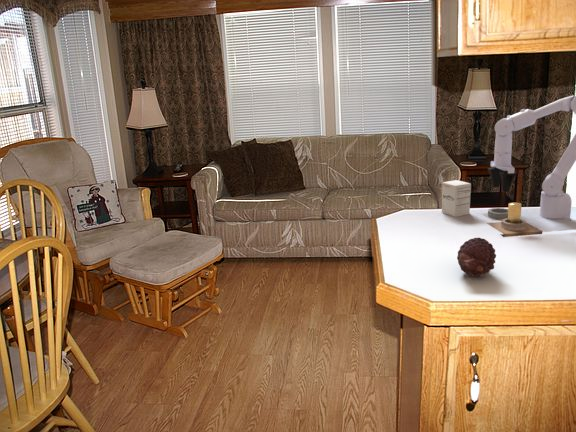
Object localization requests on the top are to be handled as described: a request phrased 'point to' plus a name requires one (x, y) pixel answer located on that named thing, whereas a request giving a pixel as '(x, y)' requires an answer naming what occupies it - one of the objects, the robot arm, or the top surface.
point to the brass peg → (514, 213)
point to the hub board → (516, 233)
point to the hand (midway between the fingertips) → (500, 189)
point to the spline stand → (497, 214)
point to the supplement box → (456, 198)
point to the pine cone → (476, 257)
